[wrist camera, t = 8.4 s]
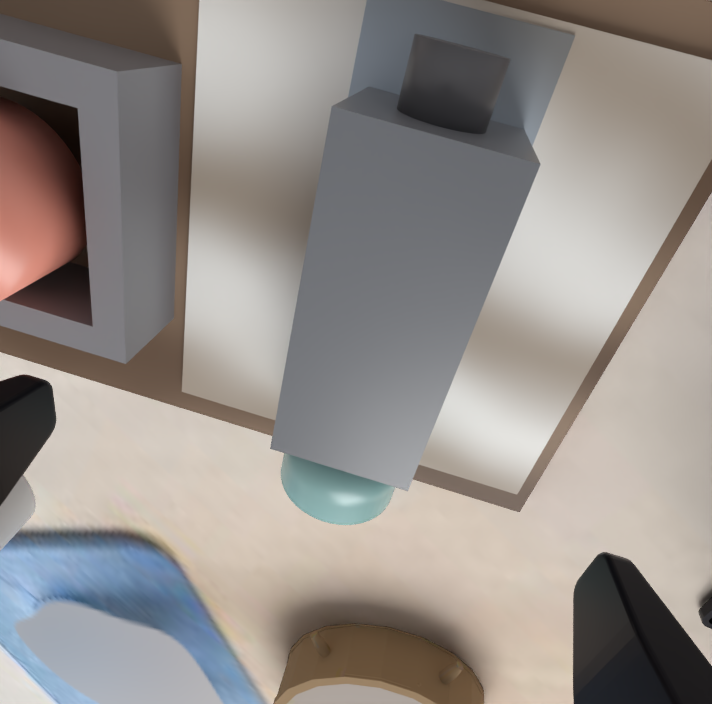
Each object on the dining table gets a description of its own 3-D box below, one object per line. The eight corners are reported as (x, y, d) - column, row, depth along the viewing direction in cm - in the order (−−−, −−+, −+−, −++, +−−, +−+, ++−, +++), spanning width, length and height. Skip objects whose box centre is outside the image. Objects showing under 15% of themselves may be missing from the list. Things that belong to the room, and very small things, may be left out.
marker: (402, 454, 19) (386, 544, 16) (297, 422, 19) (260, 504, 16) (548, 66, 12) (574, 80, 9) (382, 22, 12) (347, 19, 9)
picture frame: (518, 496, 21) (520, 517, 20) (-3, 336, 22) (-24, 349, 21) (791, 27, 12) (817, 27, 11) (-107, -206, 13) (-150, -223, 12)
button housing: (173, 318, 18) (125, 363, 16) (-38, 254, 19) (-118, 289, 16) (181, 63, 14) (116, 71, 11) (-95, -13, 14) (-216, -22, 12)
